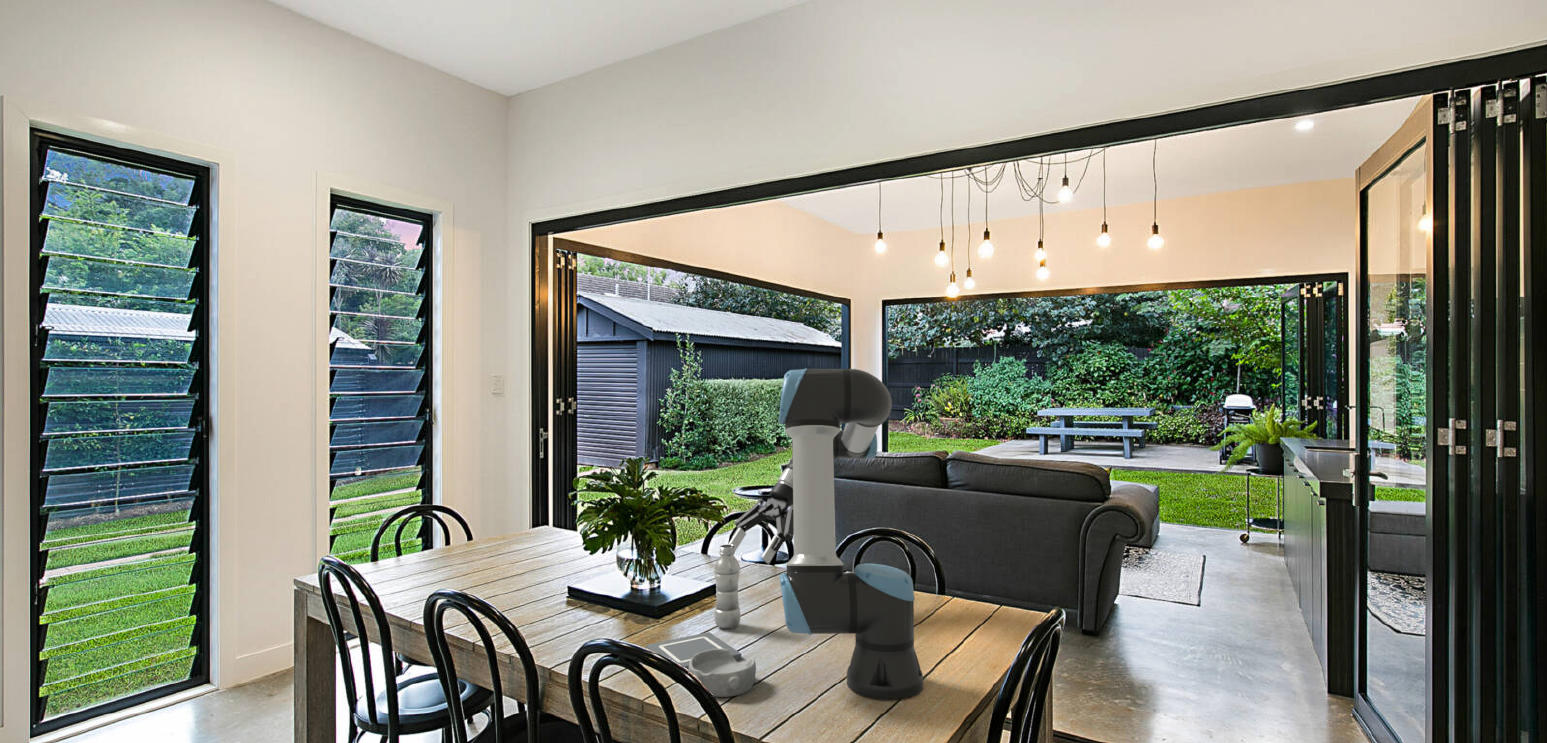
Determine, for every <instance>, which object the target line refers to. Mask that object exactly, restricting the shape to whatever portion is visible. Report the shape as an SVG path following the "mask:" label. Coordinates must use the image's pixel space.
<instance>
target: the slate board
mask: <svg viewBox="0 0 1547 743" xmlns="http://www.w3.org/2000/svg"><path fill="white" fill-rule="evenodd" d="M646 648H648V649H650V650H652V651H654V652H656V653H660V654H661V655H663V656H665V657H667V658H670V659H671V660H673V661H675V662H676V663H678V664H680V665H681V666H682V667H685V668H687V669H688V670H689V662H690V660H691V658H692V657H694V655H695V654H697V653H700V652H702V651H706V650H710V649H728V650H729V652H730V654H731V655H732V656H733V658H734V659H735V660H736V661H738V660H742V653H741V652H740V651H738V650H737V649H735V648H734V647H732V646H730V645H729V644H728V643H726V642H725V641H723V640H722V639H720V638H719V637H717V636H716V635H714V634H713V633H711V632H704V633H703V632H702V633H698V634H693V635H689V636H683V637H678V638H674V639H669V640H668V639H667V640H664V641H658V642H654V643H650V644H646V645H645V649H646Z"/></svg>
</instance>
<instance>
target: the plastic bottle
mask: <svg viewBox="0 0 1547 743" xmlns="http://www.w3.org/2000/svg"><path fill="white" fill-rule="evenodd" d="M735 554H736V551H735V547H734V545H728V544H721V545H719V555H720V556H719V557H718V559H717V561H716V562H715V564H714V568H713V570H714V579H715V584H716V602H715V603H716V604H715V610H714V622H715V625H716V626H717V627H718V628H720V629H733V628H736V627H738V626H739V624H740V622H741V616H742V615H741V609H740V603H739V579H740V573H741V572H740V571H741V566H740V563H739V561H738V559H737V558H736V556H735Z"/></svg>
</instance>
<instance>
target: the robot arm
mask: <svg viewBox="0 0 1547 743" xmlns="http://www.w3.org/2000/svg"><path fill="white" fill-rule="evenodd" d="M780 397H781V398H780V405H779V413H778V423H780V424H782V425H785V434H787V435H788V436H789V437H790V438H791V440H792V444H791V445H792V452H791V454H792V456H791V458H790V461H789V462H788V464H787V466H786V467H785V468H784V470H783V471H782V473H781V474H780V476H779V478H778V479H777V480H776V483H775V484H774V485H773V487H772V488H771V490H770V492H769V498H768V499H767V501H764V500H763V499H762V498H759V499H758V500H757V501H756V503H755V504H754V505H752V506H751V507H749V509H748V510H747V511H746V512H745V513H743V514H742V515H741V516H740V517H738V519H736V520H735V521H734V523H733V524H734V525H735V526H736V527H737V528H736V530H735V531H734V533H733V535H732V536H731V539H730V541H729V542H728V543H727V545H734V547H735V552H736V551H737V549H738V548H739V546H740V545H741V543H742V541H743V540H744V539H745V537H746V536H747V533H746V532H747V531H749V530H750V529H752V528H754V527H755V526H756V525H759V524H760V523H762V522H765V521H767V520H771V521H772V520H773V521H775V522H776V531H777V532H776V535H773V537H772V539H771V540H770V542H769V544H768V545H767V547H766V548H765V549H764V552H763V553H762V555H761V559H763V561H765V563H766V564H768V565H769V564H770V563H771V561H772V559H773V558H774V557H775V554H776V552H778V551H780V548H781V547H782V545H783V543H785V542H786V541H789V542H791V541H793V556H792V557H791V559H790V560H789V561H788V562H786V572H782V573H780V574H779V582H780V587H781V588H780V589H781V590H780V591H781V598H782V604H783V612H784V620H785V625H786V626H785V627H786V629H787V630H788V631H789V632H790V633H792V634H802V635H804V634H805V635H809V636H812V635H824V634H825V635H828V634H829V635H833V634H836V635H841V634H844V635H845V634H846V635H847V634H849V635H850V634H855V642H854V644H855V645H854V647H853V648H854V649H853V652H852V655H851V659H850V664H849V666H848V668H847V670H846V685H847V687H848V689H850V690H851V691H852V692H853V693H855V694H856V695H859V696H862V697H865V698H868V699H873V700H877V701H878V700H879V701H901V700H902V701H904V700H907V699H911V698H913V697H916V696H918V695H920V694H921V693H922V691H923V690H924V675H923V671H922V670H921V665H920V662H919V658H918V655H917V652H916V649H915V624H914V623H915V622H914V621H915V615H914V614H915V606H914V605H915V604H914V603H915V593H914V592H915V591H914V584H913V578H912V577H911V576H910V574H909V573H907V572H906V571H904V570H903V569H902V570H901V569H900V568H897V567H894V566H889V565H885V564H880V563H879V564H878V563H860V564H859V563H858V564H857V565H856V566H855V568H854V569H853V572H845V569H844V563H843V561H841V560H840V558H839V557H838V556H837V552H836V551H837V550H836V549H837V548H836V510H835V478H834V477H835V475H834V474H835V473H834V472H835V470H834V469H835V468H834V467H835V466H834V465H835V464H834V463H835V462H834V459H835V460H838V459H841V460H843V459H844V460H845V459H848V460H850V459H851V460H852V459H853V460H857V459H858V460H866V459H874V458H876V456H877V454H878V453H877V452H878V437H877V430H878V429H879V426H881V425H882V424H884V423H885V422H886V421H887V419H888V418H889V415H890V414H891V412H892V405H893V404H892V402H893V401H892V397H891V393H890V392H889V390H888V388H887V386H886V385H885V384H884V383H883V382H882V381H881V380H880V379H879V378H878V377H876V375H875V376H874V375H873V374H871V373H869V372H867V371H864V370H861V369H858V368H857V369H856V368H836V369H835V368H807V367H806V368H803V369H801V368H800V369H791V370H788V371H787V372H786V373H784V376H783V381H782V388H781V396H780ZM841 424H845V426H844V429H843V430H841Z"/></svg>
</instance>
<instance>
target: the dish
mask: <svg viewBox="0 0 1547 743" xmlns="http://www.w3.org/2000/svg"><path fill="white" fill-rule="evenodd" d="M756 664H757V663H756V660H755V658H753V657H751V658H750V659H749V661H748V662H747V663H746V664H742V663H739V662H738V660H735V659H734V658H733V656H732V655H731V654H730V652H729V650H728V649H710V650H706V651H702V652H700V653H697V654H695V655H694V657H692V658H691V660H690V662H689V671H688V673H689V672H691V673H692V674H693V675H695V676H696V677H697V678H698V679H699V680H700V681H701V683H702V684H703V685H704V686H705V687H706V688H707V689H708V690H709V691H710V692H711V693H712V694H713V695H714V696H713V697H716V698H717V697H719V698H723V697H725V698H727V697H736V696H739V695H743V694H745V693H747V692H748V691H750V690H751V689H752V688H753V686H754V683H755V679H756V672H757V671H756V670H757V668H756V667H757V666H756Z"/></svg>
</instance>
